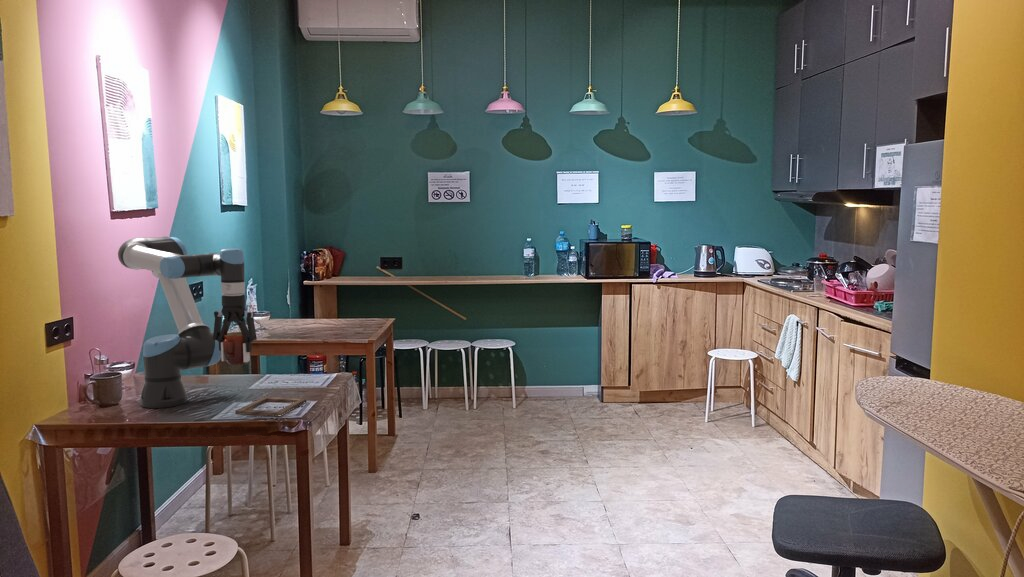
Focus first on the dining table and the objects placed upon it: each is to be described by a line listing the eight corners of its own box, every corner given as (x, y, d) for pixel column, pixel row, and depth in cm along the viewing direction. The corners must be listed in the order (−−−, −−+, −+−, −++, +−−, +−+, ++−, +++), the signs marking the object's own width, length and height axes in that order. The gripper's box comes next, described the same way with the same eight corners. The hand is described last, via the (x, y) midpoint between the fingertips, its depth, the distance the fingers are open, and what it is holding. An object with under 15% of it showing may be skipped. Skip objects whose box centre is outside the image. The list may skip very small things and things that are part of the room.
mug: (233, 360, 264) (232, 331, 263) (256, 361, 262) (255, 332, 261) (213, 367, 252) (212, 337, 251) (237, 368, 251) (236, 338, 249)
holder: (235, 413, 250) (235, 410, 250) (264, 399, 269) (264, 396, 269) (279, 416, 247) (279, 413, 247) (306, 401, 266) (306, 399, 266)
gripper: (199, 294, 253) (202, 361, 255) (255, 296, 249) (257, 364, 252) (212, 292, 260) (214, 357, 263) (266, 294, 257) (268, 360, 259)
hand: (235, 360), depth 257 cm, fingers closed on mug, 7 cm apart
